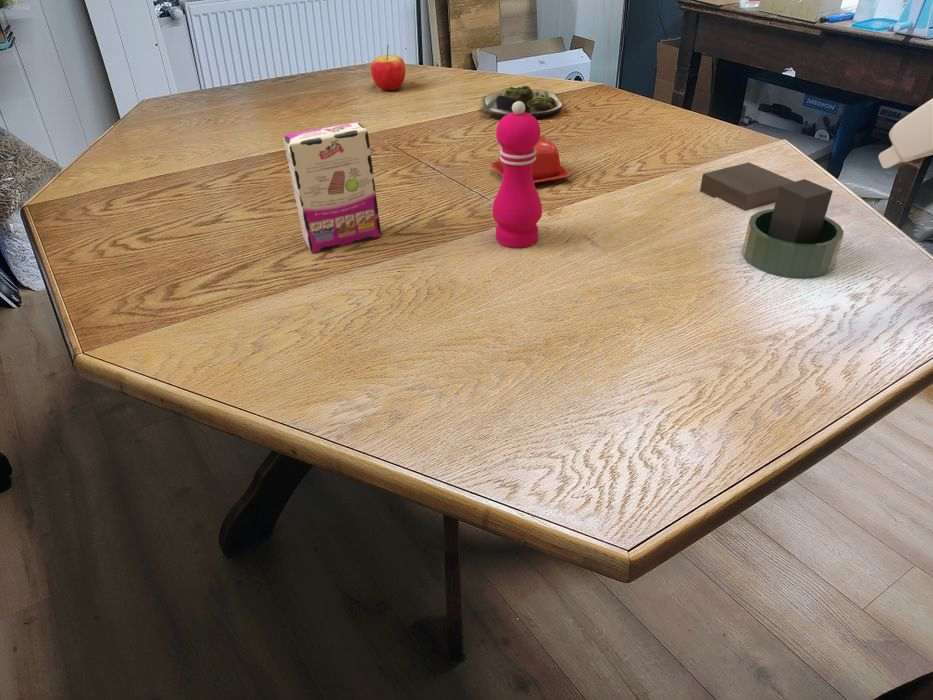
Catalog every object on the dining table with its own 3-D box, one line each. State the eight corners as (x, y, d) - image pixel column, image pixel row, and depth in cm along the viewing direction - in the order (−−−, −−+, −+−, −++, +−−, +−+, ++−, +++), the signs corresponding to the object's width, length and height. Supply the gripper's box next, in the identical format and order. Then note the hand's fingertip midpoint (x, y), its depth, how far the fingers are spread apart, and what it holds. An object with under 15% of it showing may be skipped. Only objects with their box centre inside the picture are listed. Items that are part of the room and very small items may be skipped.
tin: (784, 233, 100) (792, 201, 97) (852, 267, 92) (863, 233, 89) (723, 252, 96) (730, 219, 93) (788, 289, 88) (798, 254, 85)
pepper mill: (534, 252, 98) (538, 111, 86) (486, 246, 100) (484, 107, 88) (546, 230, 104) (551, 95, 92) (500, 225, 106) (500, 92, 94)
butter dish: (573, 182, 118) (576, 133, 113) (512, 193, 115) (512, 143, 110) (545, 160, 127) (546, 114, 122) (487, 170, 124) (486, 123, 119)
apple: (410, 84, 172) (407, 42, 166) (401, 94, 165) (398, 50, 159) (379, 84, 173) (374, 42, 167) (369, 93, 167) (364, 50, 161)
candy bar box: (371, 224, 107) (358, 119, 98) (382, 237, 103) (369, 129, 94) (301, 240, 103) (280, 133, 94) (310, 254, 100) (289, 143, 90)
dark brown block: (786, 246, 96) (804, 178, 90) (812, 260, 93) (833, 190, 87) (762, 254, 95) (779, 185, 89) (787, 267, 91) (807, 197, 86)
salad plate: (476, 97, 161) (476, 76, 159) (551, 93, 162) (552, 73, 159) (483, 123, 146) (483, 101, 143) (566, 118, 146) (567, 96, 144)
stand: (745, 178, 117) (748, 161, 115) (791, 199, 110) (795, 181, 108) (699, 190, 114) (702, 173, 112) (744, 212, 106) (748, 194, 105)
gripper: (1105, 34, 65) (964, 111, 78) (967, 63, 58) (837, 143, 71) (1134, 94, 65) (987, 161, 77) (998, 130, 58) (861, 198, 70)
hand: (914, 153), depth 74 cm, fingers open, 8 cm apart
